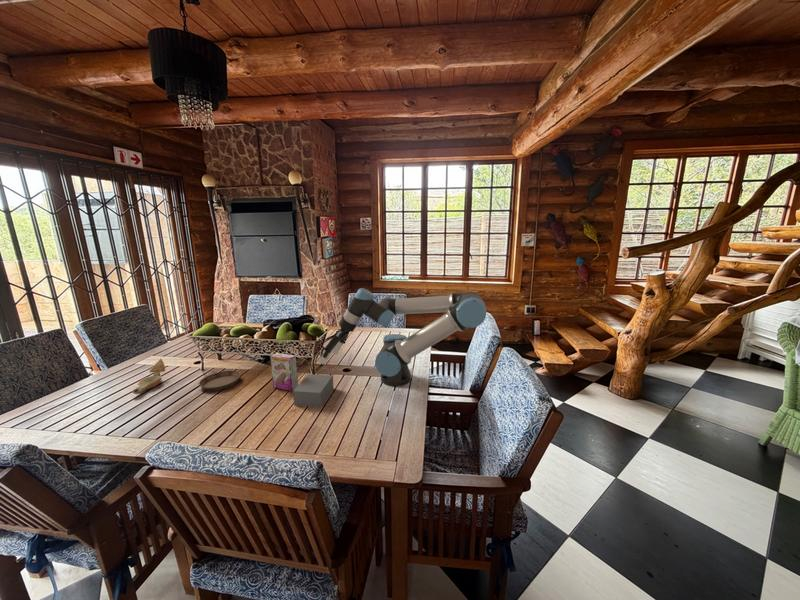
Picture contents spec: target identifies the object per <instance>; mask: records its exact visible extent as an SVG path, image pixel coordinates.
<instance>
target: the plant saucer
mask: <svg viewBox="0 0 800 600" xmlns="http://www.w3.org/2000/svg"><path fill="white" fill-rule="evenodd" d="M240 377H241V373H240V372H239V371H235V370H224V371H218V372H214V373H211V374H208V375H206V376H205V377H203V378H202V379H201V380H199V382H198V385H199V386H200V387H201V388H202V389H203V390H206V391H209V392H210V391H211V392H213V391H214V392H215V391H220V390H225V389H228V388H229V387H232V386H233V385H235V384H236V383H237V382H238V380H239V379H240Z"/></svg>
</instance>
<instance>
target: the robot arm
mask: <svg viewBox="0 0 800 600" xmlns="http://www.w3.org/2000/svg"><path fill="white" fill-rule="evenodd" d="M374 298H375V297H374V294H373V293H372V292H371V291H370V290H369V289H366V288H364V287H363V288H362V287H361V288H359V289H358V290H357V291H356V293H355V294H354V295H353V297H352V299H351V301H350V303H349V304H348V306H347V308H345V309H344V311H345V312H344V313H343V316H341V318H340V319H339V322H338V325H339V327H340V328H339V329H338V330H336V332H335V333H334V335H333V336H332V337H331V339H330V341H329V342H328V343H327V345H326V346H325V347H324V348H323V350H324V351H323V352H322V355H321V356H320V358H319V359H318V362H319V363H321V364H322V365H325V363H326V362H327V360H328V359H329V356H330V355H331V354H334V355H335V356H336V355H337V354H338V353H339V352H340V349H341V348H342V347H343V345H345V344H346V341H347V339H348V338H349V334H350V333H352V332H354V331H355V329H356V328H357V325H358V324H359V323H360V321H361V319H362V318H363V316H366V317H367V318H369V319H371V320H372V321H373V322H375V323H377V324H378V325H380V326H382V327H384V328H387V327H388V326H389V325H390V323H391V321H392V320H393V319H394V317H395V315H413V314H417V315H418V314H433V313H434V314H435V313H436V314H437V313H445V314H443V315H440V317H438V318H436V319H435V320H433V321H431V322H430V323H429V324H427V325H425V326H424V327H422V328H420V329H419V330H418V331H416V332H414V333H413V334H411V335H409V336H408V337H407V336H406V335H404V334H401V333H400V334H399V333H390V334H386V335H384V336H383V340H382V341H383V345H382V347H381V348H380V350H379V352H378V353H377V354H376V357H375V360H374V366H375V368H376V370H377V372H378V373H380V381H381V383H382V384H385V385H387V386H390V387H399V386H400V387H401V386H406V385H407V384H409V383H410V382H411V379H412V376H411V375H412V374H411V371H410V368H409V364H410V363H412V358H414V357H416V356H417V355H419V354H421V353H423V352H424V351H425V350H427V349H429V348H431V347H433V346H434V345H436V344H437V343H440V342H441V341H442V340H444V339H446V338H447V337H450V336H451V335H453V334H454V333H456V332H457V331H459V332H465V331H467V330H468V329H473V328H477V327H480V326H481V325H482V324H483V323H484V321H485V320H486V318H487V307H486V304H485V302H484V299H483V298H482V296H481V295H480V294H479V293H477V292H474V291H462V292H461V291H459V292H452V293H450V294H449V295H437V296H436V295H435V296H434V295H433V296H421V297H418V296H417V297H406V298H391V297H385V298H382V299H381V300H379V302H377V301H375V300H374ZM337 356H338V355H337Z"/></svg>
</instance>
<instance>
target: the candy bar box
mask: <svg viewBox="0 0 800 600" xmlns="http://www.w3.org/2000/svg"><path fill="white" fill-rule="evenodd" d="M296 357H297V356H296V355H293V354H286V353H280V352H275V353H273V354H272V355H270V356H269V358H270V367H271V377H272V378H271V379H272V386H273V387H272V388H274V389H279V390H283V391H289V392H293V391H294V390H295V389H296V387H297V386H298V385H299V378H298V368H297V358H296Z"/></svg>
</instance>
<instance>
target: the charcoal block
mask: <svg viewBox="0 0 800 600" xmlns="http://www.w3.org/2000/svg"><path fill="white" fill-rule="evenodd" d="M333 390H334V375H329V374H315V373H314V374H311V373H308V374H307V375H306V376H305V377H304V378H303V379H302V381H301V382H300V383H298V386H297V387H296V389H295V390H294V391H292V393H293V394H292V395H293V404H294V406H302V407H313V408H315V407H316V408H322V406H324V404H325V402H326V400H327V399H328V398H329V396H330V395H331V393H332V392H333Z"/></svg>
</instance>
